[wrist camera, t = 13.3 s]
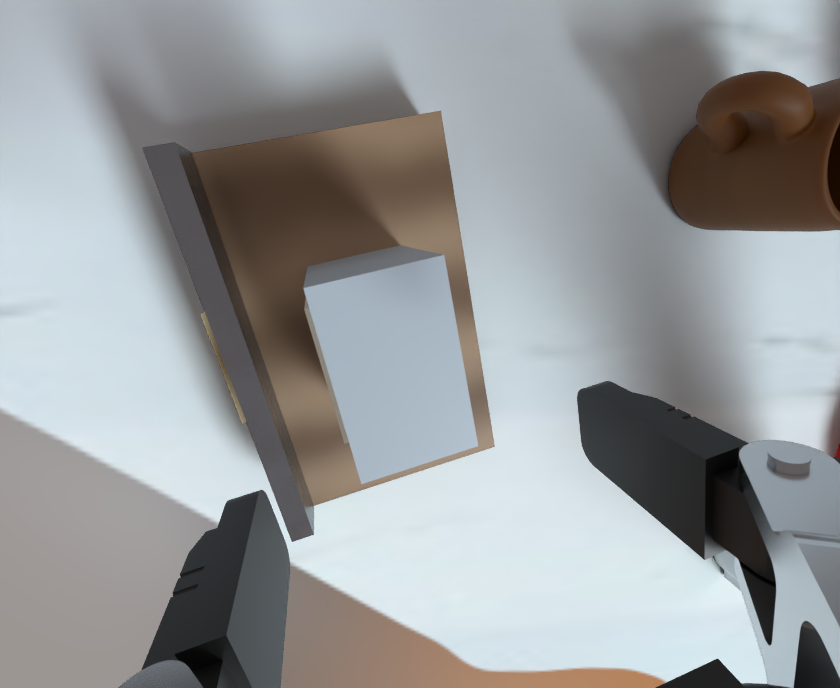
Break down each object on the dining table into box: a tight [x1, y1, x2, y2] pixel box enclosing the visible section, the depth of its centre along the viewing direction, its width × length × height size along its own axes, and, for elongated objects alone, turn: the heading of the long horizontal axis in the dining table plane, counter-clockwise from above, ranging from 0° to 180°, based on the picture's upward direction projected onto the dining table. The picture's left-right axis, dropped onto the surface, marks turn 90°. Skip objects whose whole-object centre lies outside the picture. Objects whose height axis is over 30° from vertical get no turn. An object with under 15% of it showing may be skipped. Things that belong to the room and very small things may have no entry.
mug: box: [669, 71, 840, 231], centre depth 24 cm, size 12×8×9 cm, turn 69°
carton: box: [303, 245, 478, 484], centre depth 19 cm, size 6×8×8 cm
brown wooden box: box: [143, 111, 495, 542], centre depth 23 cm, size 20×14×6 cm
